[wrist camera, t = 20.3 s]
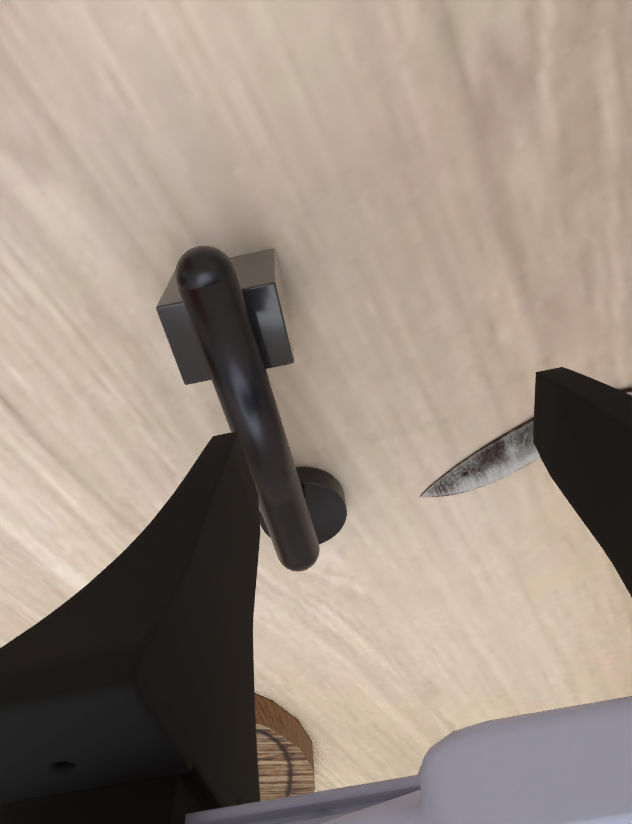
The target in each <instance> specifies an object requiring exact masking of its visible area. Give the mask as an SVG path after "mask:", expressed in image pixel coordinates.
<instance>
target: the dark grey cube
mask: <svg viewBox="0 0 632 824" xmlns="http://www.w3.org/2000/svg"><path fill="white" fill-rule="evenodd" d="M229 259H230V260H231V262H232V263H233V265H234V268H235V271H236V274H237V277H238V280H239V284H240V287H241V290H242V293H243V297H244V300H245V303H246V307H247V310H248V313H249V316H250V320H251V323H252V326H253V330H254V333H255V336H256V339H257V343H258V346H259V349H260V352H261V356H262V359H263V362H264V366H265V369H266V368H271V367H276V366H281V365H286V364H291V363H294V353H293V340H292V327H291V317H290V312H289V308H288V304H287V299H286V295H285V291H284V286H283V282H282V278H281V273H280V269H279V265H278V260H277V256H276V252H275V249H270V250H265V251H260V252H256V253H251V254H246V255H242V256H237V257H232V258H229ZM175 271H176V270H175ZM175 271H174V273H173V275H172V277H171V279H170V281H169V283H168V285H167V287H166V289H165V291H164V293H163V295H162V297H161V299H160V301H159V303H158V305H157V307H156V310H157V312H158V315H159V318H160V320H161V323H162V326H163V328H164V331H165V334H166V336H167V339H168V342H169V344H170V347H171V350H172V352H173V355H174V358H175V360H176V363H177V366H178V368H179V371H180V373H181V376H182V379H183V381H184V384H185V385H188V384H193V383H197V382H202V381H207V380H212V379H211V376H210V373H209V371H208V368H207V365H206V363H205V360H204V357H203V355H202V352H201V349H200V347H199V344H198V341H197V339H196V336H195V333H194V331H193V328H192V325H191V323H190V320H189V317H188V314H187V312H186V309H185V306H184V304H183V301H182V298H181V296H180V293H179V290H178V288H177V284H176V281H175Z"/></svg>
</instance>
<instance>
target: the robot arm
mask: <svg viewBox="0 0 632 824" xmlns="http://www.w3.org/2000/svg"><path fill="white" fill-rule="evenodd" d="M533 443H534V445H535V447H536V449H537V451H538V453H539V455H540V457H541V459H542V461H543V463H544V465H545V467H546V469H547V470H548V472H549V474H550V476H551V477H552V479H553V480H554V482H555V483H556V485H557V486H558V487H559V489H560V490H561V492H562V493H563V494H564V496H565V497H566V499H567V500H568V501H569V503H570V504H571V506H572V507H573V508H574V510H575V511H576V512H577V514H578V515H579V517H580V518H581V519H582V521H583V522H584V523H585V525H586V526H587V528H588V529H589V530H590V532H591V533H592V535H593V536H594V537H595V539H596V540H597V541H598V543H599V544H600V546H601V547H602V548H603V550H604V551H605V553H606V554H607V556H608V557H609V559H610V561H611V562H612V564H613V565H614V567H615V569H616V570H617V572H618V574H619V576H620V577H621V579H622V581H623V583H624V584H625V586H626V588H627V590H628V591H629V593H630V595H631V597H632V395H630V394H627V393H625V392H623V391H620V390H618V389H615V388H613V387H611V386H608V385H606V384H604V383H601V382H599V381H597V380H594V379H592V378H590V377H587V376H585V375H582V374H580V373H577V372H575V371H572V370H569V369H566V368H563V367H560V368H555V369H550V370H545V371H540V372H536V383H535V406H534V428H533ZM259 540H260V514H259V497H258V492H257V489H256V486H255V483H254V480H253V477H252V474H251V471H250V468H249V465H248V462H247V459H246V456H245V453H244V450H243V447H242V444H241V441H240V438H239V435H238V432H232V433H227V434H222V435H217V436H213V437H212V438H211V440H210V441H209V443H208V444H207V446H206V447H205V448H204V450H203V451H202V453H201V454H200V456H199V457H198V459H197V460H196V462H195V463H194V465H193V466H192V468H191V469H190V471H189V472H188V474H187V475H186V477H185V478H184V480H183V481H182V482H181V484H180V485H179V487H178V488H177V489H176V491H175V492H174V494H173V495H172V496H171V497H170V499H169V500H168V501H167V503H166V504H165V505H164V506H163V508H162V509H161V510H160V511H159V513H158V514H157V515H156V517H155V518H154V519H153V520H152V521H151V523H150V524H149V525H148V526H147V527H146V528H145V529H144V530H143V532H142V533H141V534H140V535H139V536H138V537H137V538H136V539H135V540H134V541H133V542H132V543H131V544H130V545H129V546H128V547H127V548H126V550H125V551H123V552H122V553H121V554H120V555H119V556H118V557H117V558H116V559H115V560H114V561H113V562H112V563H111V564H110V565H108V566H107V567H106V568H105V569H104V570H103V571H102V572H101V573H100V574H99V575H97V576H96V577H95V578H94V579H93V580H92V581H91V582H90V583H89V584H87V585H86V586H85V587H84V588H83V589H81V590H80V591H79V592H78V593H76V594H75V595H74V596H73V597H71V598H70V599H69V600H68V601H66V602H65V603H64V604H63V605H61V606H60V607H59V608H57V609H56V610H55V611H53V612H52V613H51V614H49V615H48V616H47V617H45V618H44V619H42V620H41V621H40V622H38V623H37V624H36V625H34V626H33V627H31V628H30V629H28V630H27V631H25V632H24V633H22V634H21V635H19V636H18V637H16V638H15V639H13V640H12V641H10V642H9V643H7V644H6V645H4V646H3V647H1V648H0V824H632V696H630V697H624V698H618V699H612V700H606V701H600V702H595V703H589V704H583V705H577V706H571V707H565V708H559V709H554V710H548V711H542V712H536V713H530V714H524V715H519V716H513V717H507V718H501V719H495V720H489V721H485V722H482V723H479V724H475V725H472V726H469V727H466V728H463V729H459V730H456V731H453V732H452V733H450V734H449V735H447V736H446V737H444V738H443V739H442V740H440V741H439V742H437V743H436V744H435V745H433V746H432V747H430V748H429V750H428V751H427V753H426V754H425V757H424V759H423V762H422V765H421V767H420V770H419V773H418V775H415V776H409V777H403V778H397V779H391V780H385V781H379V782H373V783H367V784H361V785H355V786H349V787H343V788H337V789H331V790H325V791H319V792H313V793H307V794H301V795H295V796H289V797H284V798H278V799H272V800H266V801H260V787H259V773H258V756H257V737H256V718H255V693H254V663H253V613H254V601H255V589H256V577H257V565H258V553H259Z"/></svg>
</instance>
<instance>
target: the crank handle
mask: <svg viewBox="0 0 632 824" xmlns="http://www.w3.org/2000/svg"><path fill="white" fill-rule="evenodd" d="M175 281H176V284H177V288H178V290H179V293H180V296H181V298H182V301H183V304H184V306H185V309H186V312H187V314H188V317H189V320H190V323H191V325H192V328H193V331H194V333H195V336H196V339H197V341H198V344H199V347H200V349H201V352H202V355H203V357H204V360H205V363H206V365H207V368H208V371H209V373H210V376H211V379H212V381H213V384H214V387H215V390H216V392H217V395H218V398H219V400H220V403H221V406H222V408H223V411H224V414H225V416H226V419H227V422H228V424H229V427H230V430H231V432H238V435H239V438H240V441H241V444H242V447H243V450H244V453H245V456H246V459H247V462H248V465H249V468H250V471H251V474H252V477H253V480H254V483H255V486H256V489H257V492H258V497H259V514H260V524H261V526H262V528H263V530H264V531H265V533H266V534H267V535H268V536H269V537H270V538H271V540H272V542H273V545H274V548H275V550H276V553H277V556H278V558H279V560H280V562H281V563H282V565H283V566H285V567H286V568H287V569H289V570H292V571H304V570H307V569H309V568H310V567H311V566H312V565H314V563H315V562H316V560H317V558H318V556H319V544H321V543H324V542H326V541H328V540H329V539H331V538H332V537H334V536H335V535H336V534H337V533H338V532H339V531H340V530H341V528H342V527H343V525H344V523H345V520H346V516H347V510H346V504H345V498H344V492H343V489H342V487H341V485H340V484H339V482H338V481H337V480H336V479H335V478H334V477H333V476H331V475H330V474H328V473H326V472H324V471H322V470H319V469H315V468H307V467H301V468H296V467H295V464H294V461H293V457H292V454H291V451H290V448H289V444H288V441H287V438H286V434H285V431H284V428H283V425H282V421H281V418H280V415H279V411H278V408H277V405H276V402H275V398H274V395H273V392H272V389H271V385H270V382H269V379H268V375H267V372H266V369H265V366H264V362H263V359H262V356H261V352H260V349H259V346H258V343H257V339H256V336H255V333H254V330H253V326H252V323H251V320H250V316H249V313H248V310H247V307H246V303H245V300H244V297H243V293H242V290H241V287H240V284H239V280H238V277H237V274H236V271H235V268H234V265H233V263H232V262H231V260H230V259H229V257H228V256H227V255H226V254H225V253H223V252H222V251H220V250H219V249H216V248H214V247H210V246H198V247H194V248H192V249H190V250H188V251H187V252H186V253H185V254H184V255H183V256H182V257H181V258H180V260H179V261H178V264H177V266H176V271H175Z"/></svg>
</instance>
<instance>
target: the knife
mask: <svg viewBox="0 0 632 824" xmlns="http://www.w3.org/2000/svg"><path fill="white" fill-rule="evenodd" d="M623 392H625V393H627V394H630V395H632V389H630V390H625V391H623ZM533 428H534V418H533V419H531V420H530V421H528V422H526V423H524V424H523V425H521V426H519V427H517V428H516V429H514V430H512V431H510V432H509V433H507V434H505V435H503V436H502V437H500V438H498V439H496V440H495V441H493V442H491V443H490V444H488V445H486V446H485V447H483V448H482V449H480V450H479V451H477V452H476V453H474V454H473V455H471V456H470V457H468V458H467V459H466V460H464V461H463V462H461V463H460V464H458V465H457V466H456V467H454V468H453V469H451V470H450V471H449V472H448V473H446V474H445V475H444V476H442V477H441V478H440V479H439V480H437V481H436V482H435V483H434V484H432V485H431V486H430V487H429V488H428V489H427V490H426V491H425V492H424V493H423V494H422V496H421V497H438V496H448V495H454V494H459V493H463V492H466V491H470V490H473V489H476V488H479V487H482V486H485V485H487V484H490V483H492V482H495V481H497V480H499V479H502V478H504V477H506V476H508V475H510V474H512V473H514V472H515V471H517V470H519V469H521V468H523V467H525V466H526V465H528V464H530V463H532V462H533V461H535V460H537V459H538V458H540V455H539V453H538V451H537V449H536V447H535V445H534V443H533Z"/></svg>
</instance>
